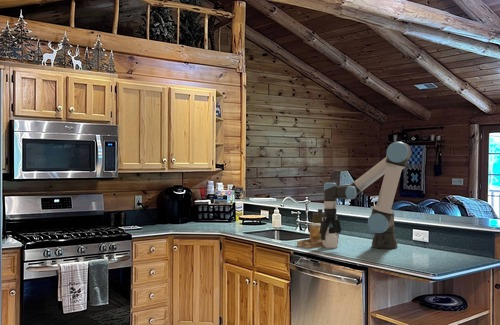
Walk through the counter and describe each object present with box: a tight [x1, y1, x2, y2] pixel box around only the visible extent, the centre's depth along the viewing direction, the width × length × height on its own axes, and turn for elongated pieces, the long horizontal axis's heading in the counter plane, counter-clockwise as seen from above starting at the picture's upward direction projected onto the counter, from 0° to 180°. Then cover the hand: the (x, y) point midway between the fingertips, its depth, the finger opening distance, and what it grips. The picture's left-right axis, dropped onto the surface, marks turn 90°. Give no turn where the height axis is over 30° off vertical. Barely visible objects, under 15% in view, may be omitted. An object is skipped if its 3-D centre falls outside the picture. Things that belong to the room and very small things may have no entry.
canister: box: [311, 208, 326, 240], centre depth 334 cm, size 11×10×20 cm
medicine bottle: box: [323, 226, 339, 249], centre depth 298 cm, size 7×7×12 cm
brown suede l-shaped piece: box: [296, 222, 324, 249], centre depth 307 cm, size 16×21×12 cm
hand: (330, 244), depth 298 cm, fingers closed on medicine bottle, 10 cm apart
